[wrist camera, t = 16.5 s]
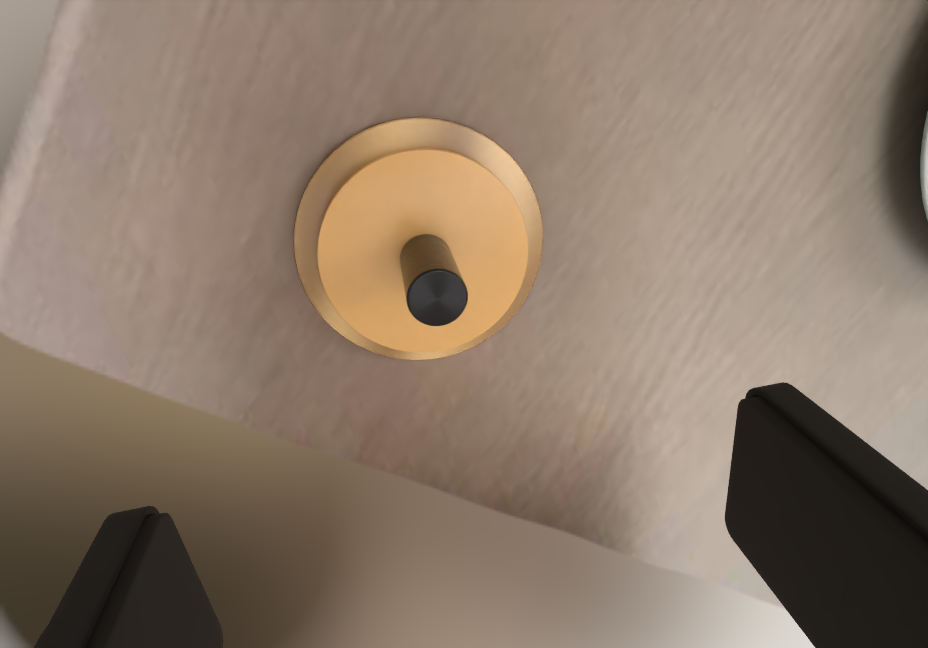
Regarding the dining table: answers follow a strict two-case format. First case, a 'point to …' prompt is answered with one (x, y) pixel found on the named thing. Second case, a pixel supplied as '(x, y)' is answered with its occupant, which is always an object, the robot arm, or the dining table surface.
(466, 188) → the shaker lid
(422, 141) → the coaster
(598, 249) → the dining table surface
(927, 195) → the plate
